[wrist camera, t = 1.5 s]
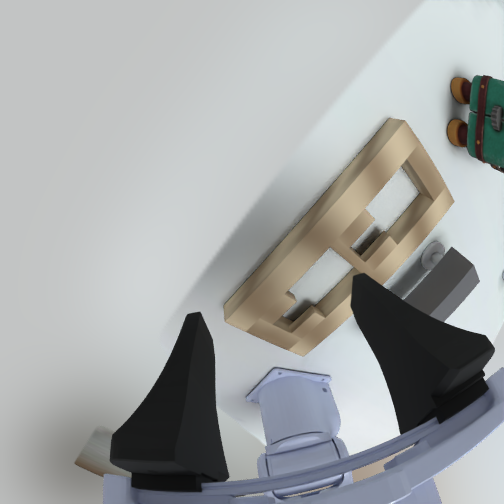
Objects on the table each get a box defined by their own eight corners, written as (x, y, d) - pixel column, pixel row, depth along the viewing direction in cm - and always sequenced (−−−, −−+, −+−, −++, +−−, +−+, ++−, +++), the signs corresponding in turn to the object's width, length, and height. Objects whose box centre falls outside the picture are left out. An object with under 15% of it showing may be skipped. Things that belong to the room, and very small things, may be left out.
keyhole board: (389, 117, 18) (405, 120, 16) (440, 193, 22) (454, 201, 20) (223, 305, 25) (224, 321, 23) (298, 341, 29) (303, 356, 27)
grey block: (436, 234, 24) (477, 268, 18) (446, 251, 26) (483, 284, 20) (356, 318, 28) (382, 364, 22) (372, 328, 30) (396, 370, 24)
